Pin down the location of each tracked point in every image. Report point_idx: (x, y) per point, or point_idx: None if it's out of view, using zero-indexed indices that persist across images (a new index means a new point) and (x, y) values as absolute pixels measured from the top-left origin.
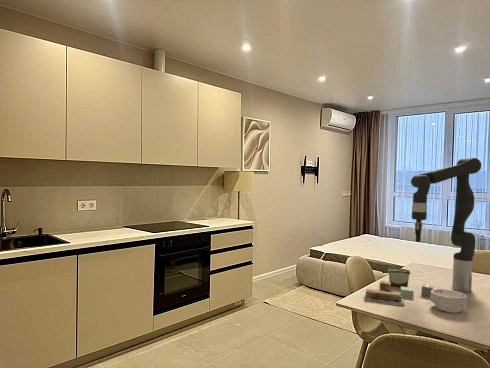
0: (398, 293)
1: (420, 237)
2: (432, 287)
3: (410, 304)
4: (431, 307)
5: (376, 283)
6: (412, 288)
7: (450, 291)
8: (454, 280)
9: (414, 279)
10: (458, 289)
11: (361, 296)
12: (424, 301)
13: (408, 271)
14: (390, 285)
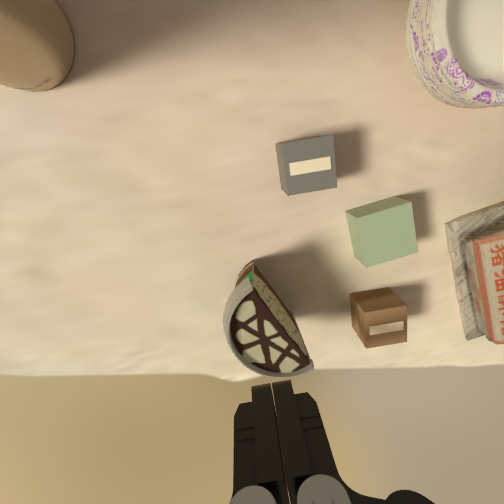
0: (498, 239)
1: (257, 442)
2: (316, 138)
3: (486, 182)
4: None
5: None
6: (364, 219)
7: (447, 4)
8: (36, 63)
9: (57, 282)
10: (70, 46)
11: None
12: (406, 147)
13: (244, 295)
14: (374, 304)
